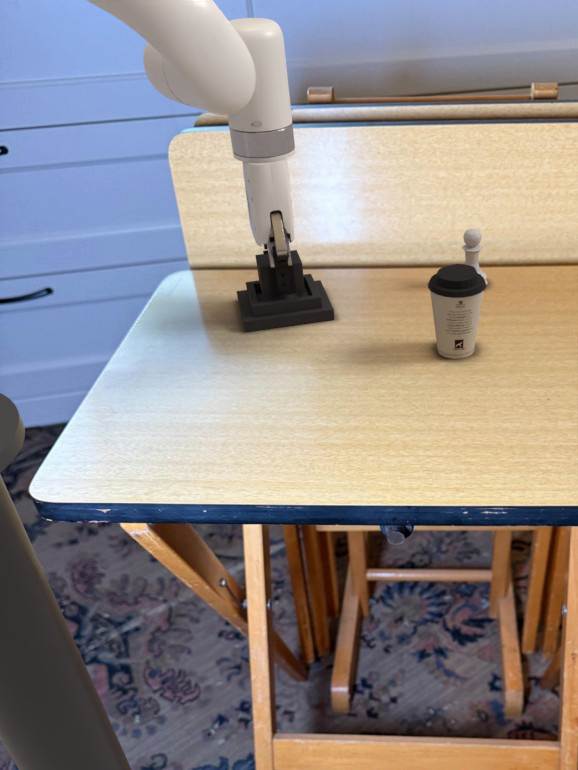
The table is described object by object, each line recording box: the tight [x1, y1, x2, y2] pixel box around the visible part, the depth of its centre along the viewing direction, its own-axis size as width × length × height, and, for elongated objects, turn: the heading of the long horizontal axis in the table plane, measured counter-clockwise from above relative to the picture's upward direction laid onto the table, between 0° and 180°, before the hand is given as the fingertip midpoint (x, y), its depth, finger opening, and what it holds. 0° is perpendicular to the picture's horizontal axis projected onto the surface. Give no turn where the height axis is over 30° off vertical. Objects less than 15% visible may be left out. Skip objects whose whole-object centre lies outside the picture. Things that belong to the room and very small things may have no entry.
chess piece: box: [461, 228, 488, 286], centre depth 112 cm, size 5×5×8 cm
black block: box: [254, 249, 305, 297], centre depth 106 cm, size 6×5×4 cm
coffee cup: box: [427, 263, 487, 360], centre depth 97 cm, size 7×7×10 cm
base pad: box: [236, 273, 335, 333], centre depth 109 cm, size 12×10×3 cm
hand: (281, 284), depth 107 cm, fingers closed on black block, 4 cm apart
